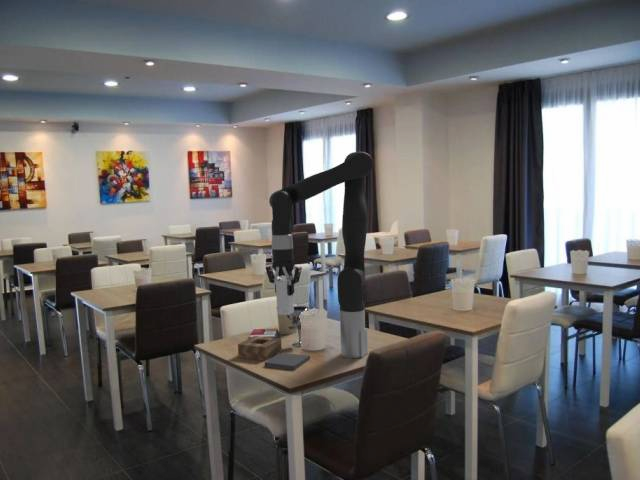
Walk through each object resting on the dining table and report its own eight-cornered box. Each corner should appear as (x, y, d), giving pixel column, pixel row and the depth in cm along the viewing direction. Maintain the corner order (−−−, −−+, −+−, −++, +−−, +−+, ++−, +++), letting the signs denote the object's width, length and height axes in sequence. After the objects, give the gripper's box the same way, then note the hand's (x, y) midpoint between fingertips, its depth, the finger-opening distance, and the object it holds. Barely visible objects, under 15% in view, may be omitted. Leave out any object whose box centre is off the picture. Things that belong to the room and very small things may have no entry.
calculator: (278, 327, 231) (275, 335, 216) (278, 337, 231) (275, 346, 216) (252, 328, 231) (247, 336, 216) (253, 338, 231) (248, 346, 216)
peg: (293, 312, 193) (292, 279, 192) (288, 315, 189) (286, 281, 188) (283, 311, 195) (281, 279, 194) (277, 314, 191) (275, 281, 190)
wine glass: (300, 340, 222) (299, 305, 220) (314, 344, 216) (312, 307, 214) (286, 345, 216) (284, 308, 215) (299, 348, 210) (298, 311, 209)
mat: (309, 359, 196) (309, 355, 196) (294, 370, 186) (294, 366, 185) (280, 356, 201) (280, 352, 201) (264, 366, 191) (264, 362, 190)
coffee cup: (290, 335, 230) (289, 308, 229) (273, 333, 235) (272, 306, 234) (302, 330, 238) (301, 303, 236) (285, 328, 243) (284, 302, 242)
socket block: (281, 351, 208) (281, 338, 208) (265, 360, 197) (265, 347, 197) (255, 348, 213) (254, 335, 213) (238, 357, 202) (237, 344, 202)
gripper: (305, 246, 190) (307, 293, 192) (270, 246, 196) (272, 292, 198) (295, 248, 183) (297, 297, 185) (259, 248, 189) (262, 296, 191)
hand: (284, 294), depth 191 cm, fingers closed on peg, 4 cm apart
